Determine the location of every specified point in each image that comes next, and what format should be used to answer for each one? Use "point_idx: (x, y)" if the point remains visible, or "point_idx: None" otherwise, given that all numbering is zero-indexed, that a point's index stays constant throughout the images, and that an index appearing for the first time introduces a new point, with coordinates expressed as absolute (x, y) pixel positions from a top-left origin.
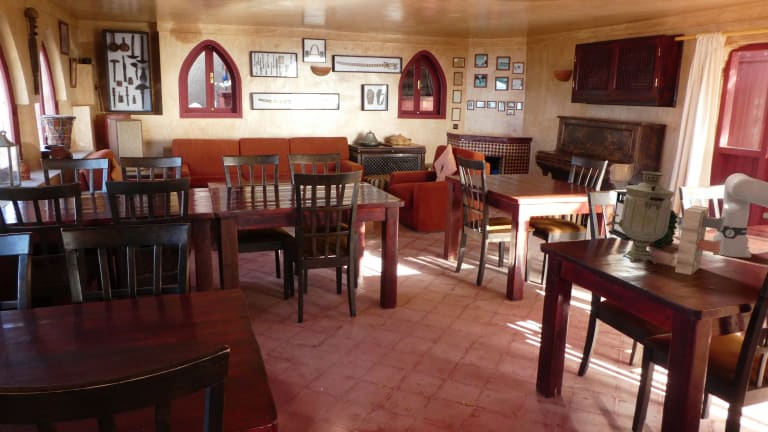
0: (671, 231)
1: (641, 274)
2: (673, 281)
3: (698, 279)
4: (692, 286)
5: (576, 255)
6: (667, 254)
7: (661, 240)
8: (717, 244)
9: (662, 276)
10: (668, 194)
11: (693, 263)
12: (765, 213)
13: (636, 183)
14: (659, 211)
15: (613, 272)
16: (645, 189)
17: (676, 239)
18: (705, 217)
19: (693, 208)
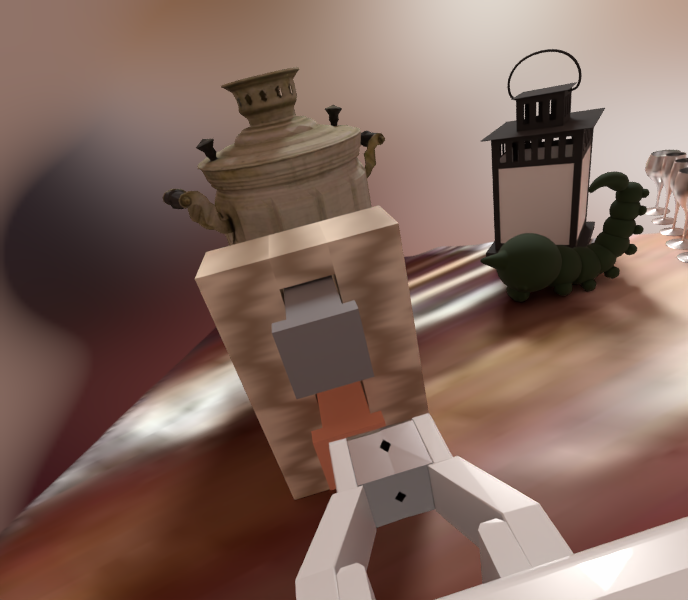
0: (608, 245)
1: (179, 437)
2: (158, 520)
3: (254, 548)
4: (126, 594)
5: None
6: (479, 340)
7: (511, 284)
8: (315, 450)
9: (199, 471)
10: (244, 169)
11: (299, 466)
12: (343, 449)
13: (545, 89)
14: (246, 238)
15: (152, 405)
16: (216, 155)
17: (680, 258)
18: (291, 294)
19: (282, 237)
